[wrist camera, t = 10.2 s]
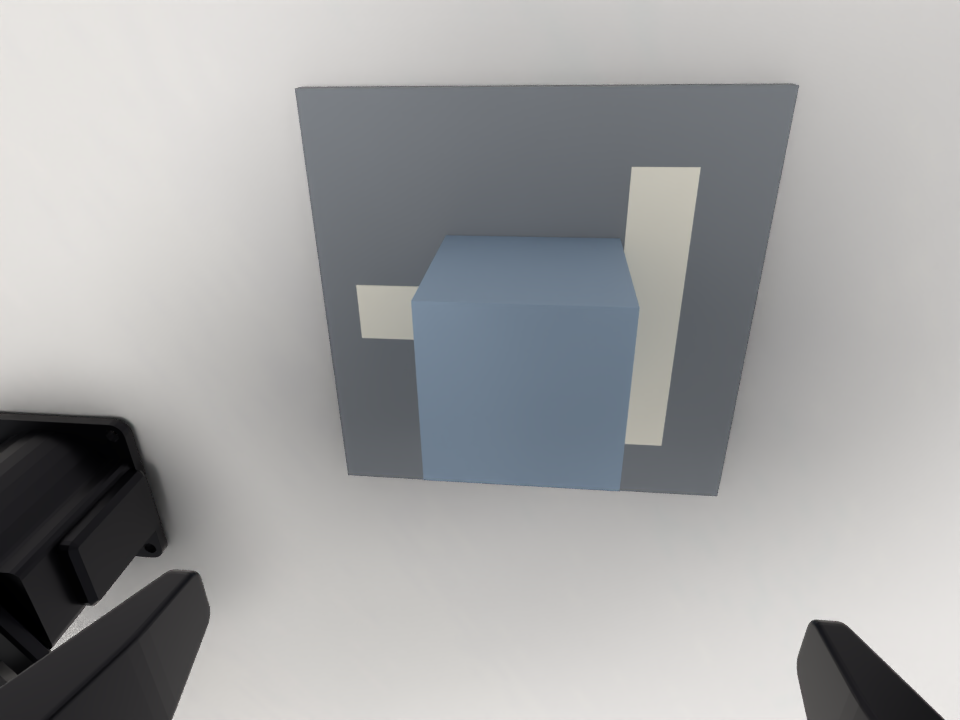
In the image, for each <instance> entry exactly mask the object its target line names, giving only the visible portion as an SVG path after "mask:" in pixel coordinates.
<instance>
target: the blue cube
mask: <svg viewBox="0 0 960 720" xmlns="http://www.w3.org/2000/svg"><path fill="white" fill-rule="evenodd" d="M411 307H412V321H413V336H414V350H415V364H416V379H417V393H418V407H419V422H420V436H421V450H422V465H423V479H424V480H434V481H451V482H468V483H485V484H503V485H520V486H537V487H555V488H572V489H589V490H607V491H620V482H621V473H622V464H623V455H624V446H625V437H626V427H627V418H628V409H629V400H630V391H631V382H632V373H633V363H634V354H635V345H636V336H637V327H638V318H639V309H640V307H639V304H638V300H637V297H636V293H635V289H634V286H633V282H632V279H631V275H630V271H629V268H628V264H627V261H626V257H625V253H624V250H623V246H622V243H621V239H620V238H572V237H516V236H461V235H446V236H445V238H444V240H443V242H442V244H441V245H440V247H439V249H438V251H437V253H436V255H435V257H434V259H433V261H432V262H431V264H430V266H429V268H428V270H427V272H426V274H425V276H424V278H423V279H422V281H421V283H420V285H419V287H418V289H417V291H416V293H415V295H414V297H413V298H412V300H411Z"/></svg>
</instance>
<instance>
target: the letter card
mask: <svg viewBox="0 0 960 720" xmlns="http://www.w3.org/2000/svg"><path fill="white" fill-rule="evenodd" d="M798 88H799V85H796V84H662V85H516V86H371V87H300V88H296V89H295V92H296V100H297V107H298V114H299V121H300V128H301V136H302V143H303V150H304V157H305V165H306V172H307V179H308V186H309V194H310V201H311V208H312V215H313V223H314V230H315V237H316V244H317V252H318V259H319V266H320V273H321V281H322V288H323V295H324V302H325V310H326V317H327V324H328V331H329V339H330V346H331V353H332V360H333V368H334V375H335V382H336V389H337V397H338V404H339V411H340V418H341V425H342V433H343V440H344V447H345V454H346V462H347V469H348V475H355V476H373V477H390V478H408V479H423V465H422V450H421V436H420V422H419V407H418V393H417V379H416V364H415V350H414V336H413V321H412V307H411V300H412V298H413V297H414V295H415V293H416V291H417V289H418V287H419V285H420V283H421V281H422V279H423V278H424V276H425V274H426V272H427V270H428V268H429V266H430V264H431V262H432V261H433V259H434V257H435V255H436V253H437V251H438V249H439V247H440V245H441V244H442V242H443V240H444V238H445V236H446V235H461V236H516V237H572V238H620V239H621V243H622V246H623V250H624V253H625V257H626V261H627V264H628V268H629V271H630V275H631V279H632V282H633V286H634V289H635V293H636V297H637V300H638V304H639V307H640V309H639V318H638V327H637V336H636V345H635V354H634V363H633V373H632V382H631V391H630V400H629V409H628V418H627V427H626V437H625V446H624V455H623V464H622V473H621V482H620V491H635V492H652V493H670V494H687V495H704V496H717V494H718V489H719V484H720V479H721V474H722V469H723V464H724V459H725V454H726V449H727V444H728V439H729V434H730V429H731V424H732V419H733V414H734V409H735V404H736V399H737V394H738V389H739V384H740V379H741V374H742V369H743V364H744V359H745V354H746V349H747V344H748V339H749V334H750V329H751V324H752V319H753V314H754V309H755V304H756V299H757V294H758V289H759V284H760V279H761V274H762V268H763V263H764V258H765V253H766V248H767V243H768V238H769V233H770V228H771V223H772V218H773V213H774V208H775V203H776V198H777V193H778V188H779V183H780V178H781V173H782V168H783V163H784V158H785V153H786V148H787V143H788V138H789V133H790V128H791V123H792V118H793V113H794V108H795V103H796V98H797V93H798Z"/></svg>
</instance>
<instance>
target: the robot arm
mask: <svg viewBox="0 0 960 720" xmlns="http://www.w3.org/2000/svg"><path fill="white" fill-rule="evenodd" d="M113 431H114V432H115V433H117V435H116V434H115V433H114V432H113ZM166 547H167V540H166V537H165V534H164V531H163V528H162V525H161V522H160V519H159V515H158V512H157V509H156V506H155V503H154V500H153V497H152V494H151V491H150V487H149V484H148V481H147V478H146V475H145V472H144V469H143V466H142V463H141V459H140V456H139V453H138V450H137V447H136V444H135V441H134V438H133V435H132V431H131V429H130V427H129V426H128V425H127V424H126V423H125V422H123V421H121V420H118V419H108V418H88V417H68V416H48V415H28V414H8V413H0V720H172V718H173V715H174V713H175V711H176V708H177V706H178V703H179V700H180V698H181V695H182V692H183V690H184V687H185V684H186V682H187V679H188V676H189V674H190V671H191V668H192V666H193V663H194V661H195V658H196V655H197V653H198V650H199V647H200V645H201V642H202V639H203V637H204V634H205V631H206V629H207V626H208V623H209V619H210V606H209V603H208V599H207V596H206V593H205V589H204V586H203V582H202V579H201V576H200V575H199V574H198V573H197V572H196V571H190V570H177V569H175V570H170V571H168V572H166V573H164V574H163V575H162V576H160V577H159V578H157V579H156V580H154V581H153V582H151V583H150V584H149V585H147V586H146V587H144V588H143V589H141V590H140V591H138V592H137V593H136V594H134V595H133V596H131V597H130V598H128V599H127V600H125V601H124V602H123V603H121V604H120V605H118V606H117V607H115V608H114V609H112V610H111V611H110V612H108V613H107V614H105V615H104V616H102V617H101V618H99V619H98V620H97V621H95V622H94V623H92V624H91V625H89V626H88V627H86V628H85V629H84V630H82V631H81V632H79V633H78V634H76V635H75V636H73V637H72V638H71V639H69V640H68V641H66V642H65V643H63V644H62V645H60V646H59V647H58V648H56V649H55V650H53V651H51V650H50V649H51V648H52V647H53V646H54V645H55V644H56V642H57V641H58V640H59V639H60V637H61V636H62V635H63V634H64V632H65V631H66V630H67V629H68V627H69V626H70V625H71V624H72V623H73V621H74V620H75V619H76V618H77V616H78V615H79V614H80V613H81V611H82V610H83V609H84V608H85V606H86V605H89V606H93V605H95V604H97V603H98V602H99V601H100V600H101V599H102V597H103V596H104V595H105V594H106V592H107V591H108V590H109V589H110V587H111V586H112V585H113V584H114V582H115V581H116V580H117V578H118V577H119V576H120V575H121V573H122V572H123V571H124V570H125V568H126V567H127V566H128V565H129V563H130V562H131V561H132V560H133V558H134V557H135V556H142V557H158V556H160V555H161V554H162V553H163V551H164V550H165V549H166ZM797 675H798V680H799V684H800V689H801V693H802V698H803V703H804V707H805V712H806V717H807V720H945V719H944V718H943V717H942V716H941V715H939V714H938V713H937V712H936V711H935V710H934V709H933V708H932V707H931V706H930V705H929V704H928V703H927V702H926V701H925V700H924V699H923V698H922V697H921V696H920V695H919V694H918V693H917V692H916V691H915V690H914V689H913V688H911V687H910V686H909V685H908V684H907V683H906V682H905V681H904V680H903V679H902V678H901V677H900V676H899V675H898V674H897V673H896V672H895V671H894V670H893V669H892V668H891V667H890V666H889V665H888V664H887V663H886V662H884V661H883V660H882V659H881V658H880V657H879V656H878V655H877V654H876V653H875V652H874V651H873V650H872V649H871V648H870V647H869V646H868V645H867V644H866V643H865V642H864V641H863V640H862V639H861V638H860V637H859V636H858V635H856V634H855V633H854V632H853V631H852V630H851V629H850V628H849V627H848V626H847V625H845V624H844V623H842V622H838V621H828V620H812V621H811V622H810V623H809V625H808V627H807V630H806V633H805V636H804V639H803V642H802V645H801V648H800V651H799V654H798V658H797Z"/></svg>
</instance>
